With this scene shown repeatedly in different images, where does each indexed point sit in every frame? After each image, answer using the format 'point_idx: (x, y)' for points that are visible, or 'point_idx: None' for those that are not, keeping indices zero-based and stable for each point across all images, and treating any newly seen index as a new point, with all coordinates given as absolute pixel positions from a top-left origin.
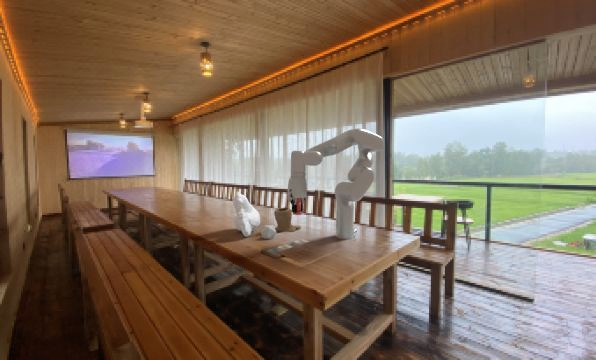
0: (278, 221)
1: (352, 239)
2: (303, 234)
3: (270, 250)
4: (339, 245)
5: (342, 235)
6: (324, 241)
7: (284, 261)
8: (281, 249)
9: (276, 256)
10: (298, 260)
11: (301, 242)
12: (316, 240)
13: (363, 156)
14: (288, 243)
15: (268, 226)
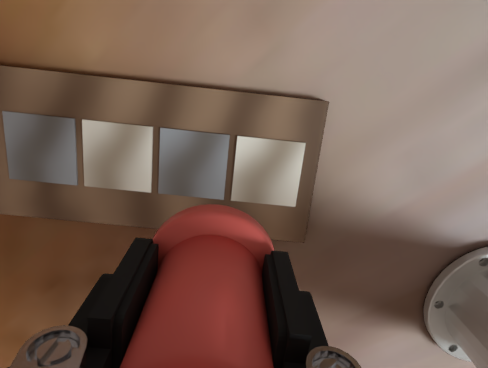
0: None
1: (463, 358)
2: (460, 45)
3: (11, 129)
4: (364, 328)
5: (458, 335)
6: (385, 242)
7: (11, 252)
8: (72, 169)
9: (1, 199)
10: (68, 290)
11: (249, 183)
12: (378, 197)
13: None
14: (181, 131)
15: None
